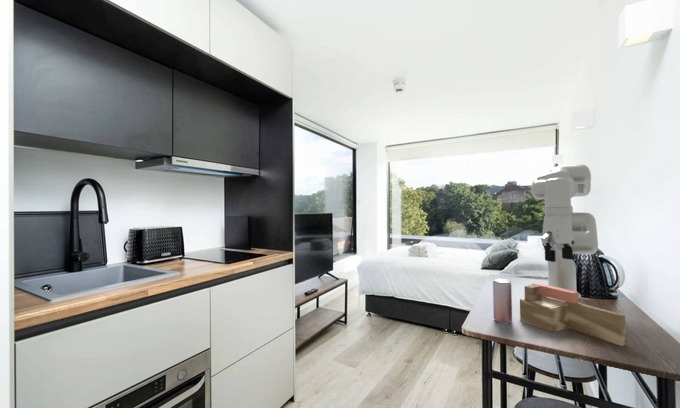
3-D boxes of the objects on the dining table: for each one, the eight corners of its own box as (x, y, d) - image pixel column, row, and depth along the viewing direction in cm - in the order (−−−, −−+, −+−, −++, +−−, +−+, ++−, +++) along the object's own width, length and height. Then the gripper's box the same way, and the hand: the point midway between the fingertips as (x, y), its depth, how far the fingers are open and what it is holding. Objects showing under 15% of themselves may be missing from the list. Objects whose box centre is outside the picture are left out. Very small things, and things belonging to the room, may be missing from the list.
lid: (543, 298, 110) (543, 282, 110) (568, 305, 102) (568, 288, 102) (524, 302, 106) (524, 286, 106) (549, 309, 98) (549, 292, 98)
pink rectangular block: (537, 291, 112) (537, 282, 112) (578, 302, 99) (578, 292, 99) (532, 292, 111) (532, 283, 111) (573, 303, 98) (573, 293, 98)
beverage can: (490, 318, 109) (489, 278, 110) (505, 317, 110) (504, 278, 110) (500, 324, 103) (499, 282, 104) (516, 323, 104) (515, 282, 104)
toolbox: (542, 314, 112) (542, 285, 112) (629, 343, 88) (628, 305, 88) (519, 320, 107) (519, 289, 107) (605, 352, 83) (604, 312, 83)
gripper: (561, 212, 110) (562, 256, 110) (531, 212, 104) (532, 260, 103) (584, 212, 103) (585, 259, 103) (553, 213, 97) (554, 264, 97)
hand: (558, 260), depth 103 cm, fingers open, 9 cm apart
